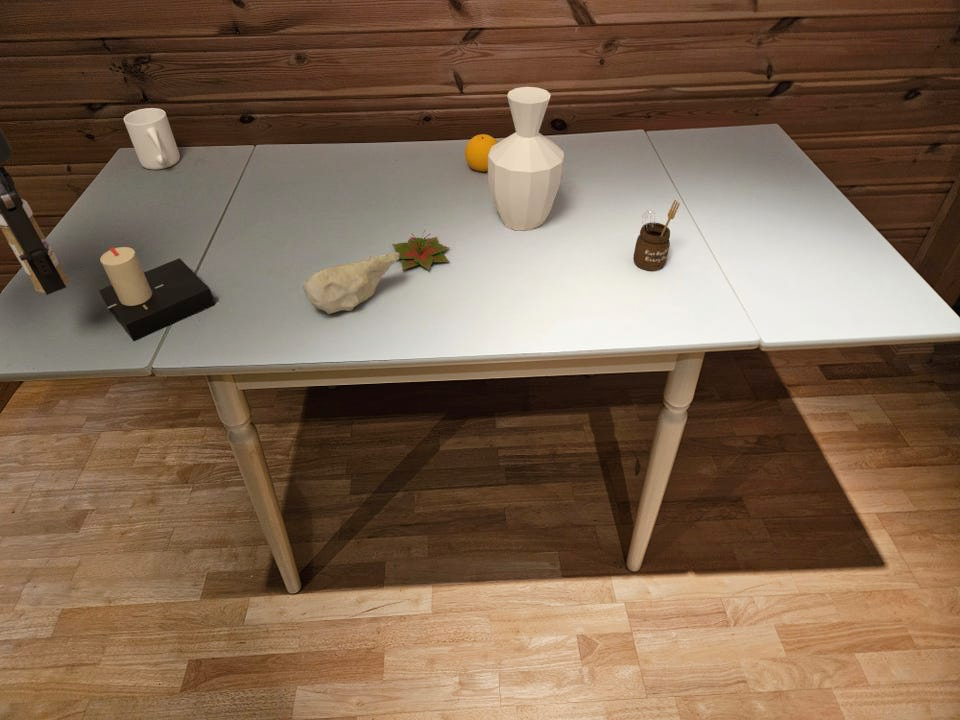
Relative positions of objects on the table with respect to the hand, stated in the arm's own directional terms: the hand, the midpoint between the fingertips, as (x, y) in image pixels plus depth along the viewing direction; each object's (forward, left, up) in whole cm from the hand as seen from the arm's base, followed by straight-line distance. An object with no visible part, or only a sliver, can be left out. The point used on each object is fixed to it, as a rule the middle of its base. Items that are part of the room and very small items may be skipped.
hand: (50, 281), depth 97 cm
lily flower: (+55, -18, -12) cm, 59 cm away
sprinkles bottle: (0, 0, -1) cm, 1 cm away
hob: (+13, 0, -11) cm, 17 cm away
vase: (+78, -22, -12) cm, 82 cm away
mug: (+34, +50, -12) cm, 62 cm away
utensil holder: (+85, -48, -12) cm, 98 cm away
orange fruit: (+87, 0, -12) cm, 88 cm away
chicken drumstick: (+39, -20, -12) cm, 45 cm away
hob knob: (+10, 0, -8) cm, 13 cm away
